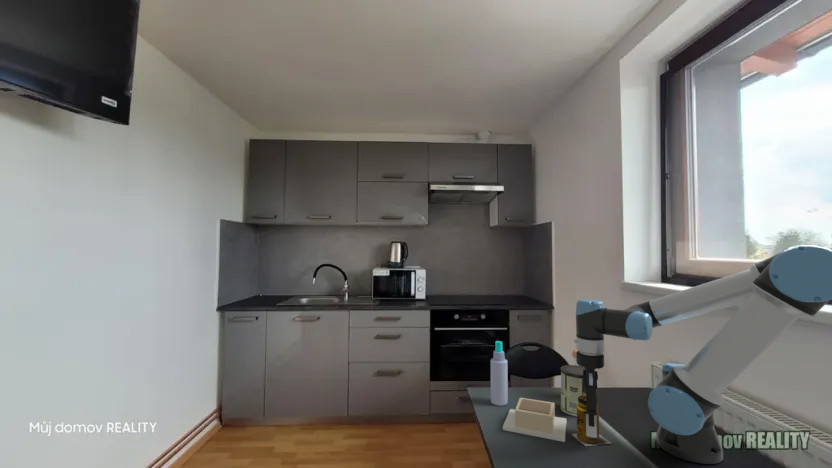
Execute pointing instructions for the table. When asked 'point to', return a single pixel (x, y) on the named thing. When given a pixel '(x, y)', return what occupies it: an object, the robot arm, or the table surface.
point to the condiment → (582, 425)
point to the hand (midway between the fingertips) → (590, 429)
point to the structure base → (554, 436)
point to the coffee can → (571, 388)
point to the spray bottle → (499, 376)
